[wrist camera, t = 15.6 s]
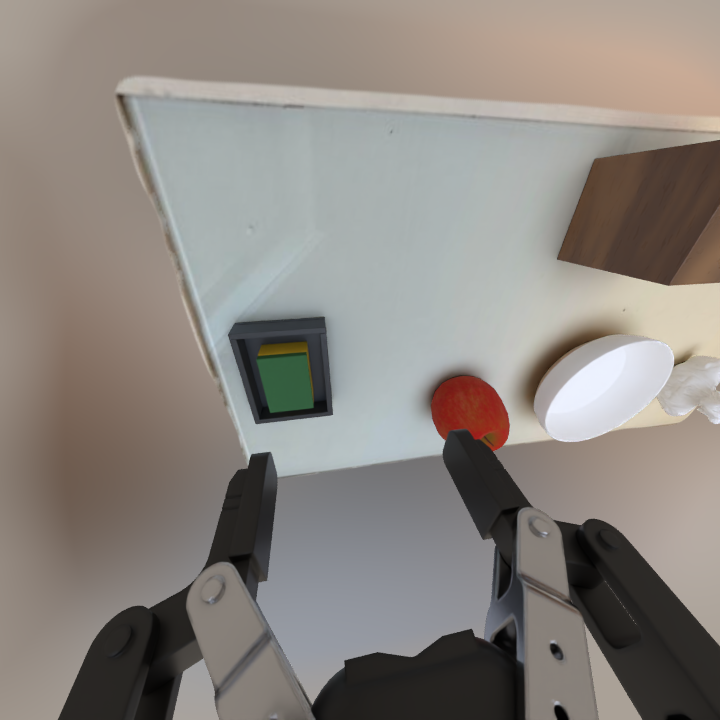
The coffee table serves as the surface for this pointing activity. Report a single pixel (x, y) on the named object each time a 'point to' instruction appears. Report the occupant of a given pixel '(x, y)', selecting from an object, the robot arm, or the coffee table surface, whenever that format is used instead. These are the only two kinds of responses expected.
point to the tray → (255, 334)
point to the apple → (470, 410)
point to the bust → (693, 388)
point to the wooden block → (651, 216)
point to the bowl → (601, 385)
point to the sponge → (286, 376)
